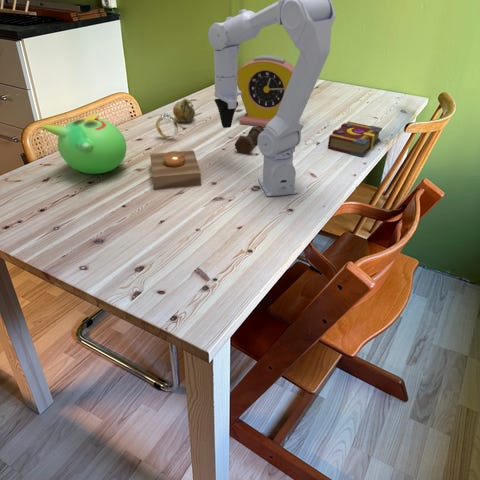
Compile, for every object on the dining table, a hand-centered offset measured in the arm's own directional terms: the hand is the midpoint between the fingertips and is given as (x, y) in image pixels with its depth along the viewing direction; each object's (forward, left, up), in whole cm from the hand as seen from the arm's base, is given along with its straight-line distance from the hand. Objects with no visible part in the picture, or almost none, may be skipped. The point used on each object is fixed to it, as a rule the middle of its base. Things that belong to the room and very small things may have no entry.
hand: (226, 126), depth 119 cm
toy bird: (+2, +36, -11) cm, 38 cm away
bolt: (+11, -10, -11) cm, 18 cm away
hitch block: (-5, +15, -10) cm, 19 cm away
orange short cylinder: (-5, +15, -10) cm, 19 cm away
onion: (+35, +8, -11) cm, 38 cm away
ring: (+20, +15, -11) cm, 27 cm away
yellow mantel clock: (+28, -19, -11) cm, 35 cm away
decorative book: (+5, -41, -11) cm, 43 cm away
